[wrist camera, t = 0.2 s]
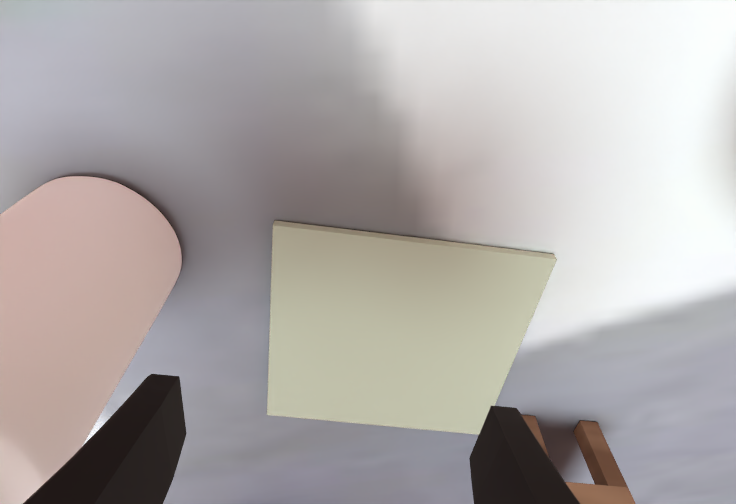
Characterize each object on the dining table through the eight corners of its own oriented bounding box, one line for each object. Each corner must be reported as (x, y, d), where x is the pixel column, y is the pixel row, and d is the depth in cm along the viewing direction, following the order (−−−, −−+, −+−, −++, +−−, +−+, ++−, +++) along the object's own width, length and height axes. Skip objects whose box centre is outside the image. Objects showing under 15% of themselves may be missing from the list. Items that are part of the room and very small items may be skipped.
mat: (480, 428, 27) (481, 434, 27) (268, 408, 26) (267, 414, 26) (553, 254, 20) (557, 259, 20) (274, 220, 20) (272, 225, 19)
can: (184, 186, 19) (-29, 465, 9) (186, 309, 22) (35, 610, 12) (12, 156, 18) (-431, 419, 8) (42, 287, 22) (-244, 586, 12)
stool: (553, 491, 30) (582, 579, 26) (483, 485, 30) (501, 573, 26) (597, 422, 27) (639, 511, 22) (517, 414, 26) (545, 503, 22)
